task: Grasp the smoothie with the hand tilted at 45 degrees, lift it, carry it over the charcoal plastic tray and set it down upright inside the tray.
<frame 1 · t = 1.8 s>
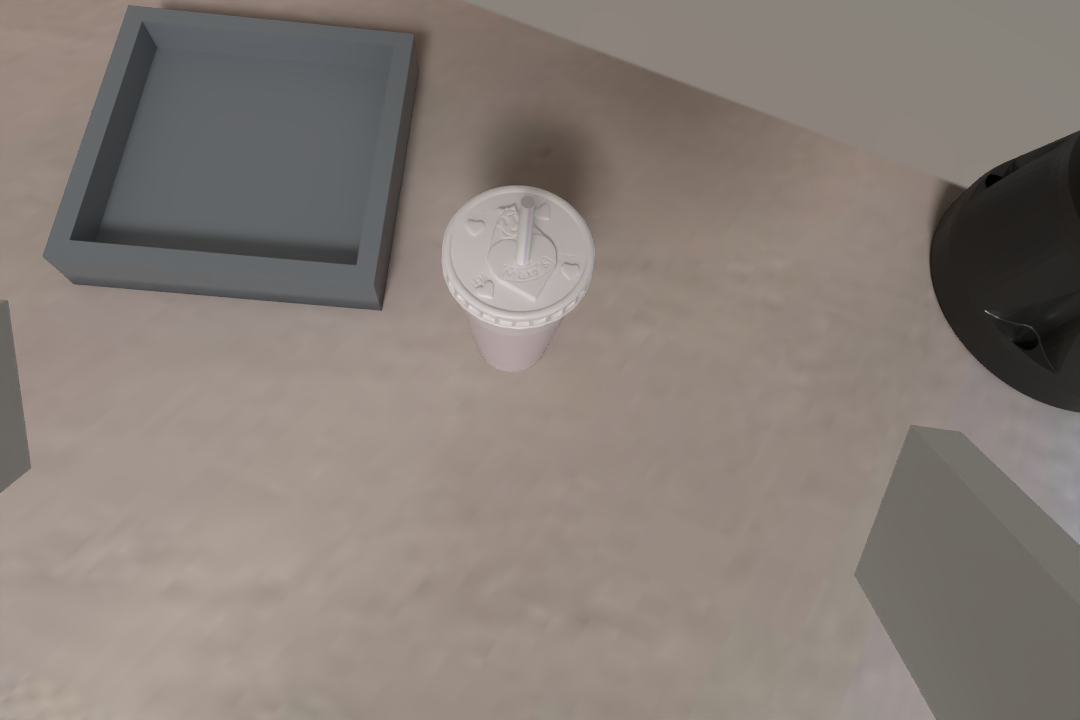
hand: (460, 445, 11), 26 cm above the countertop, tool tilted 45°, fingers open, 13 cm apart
tray: (259, 169, 43), on the countertop
smoothie: (511, 340, 40), on the countertop
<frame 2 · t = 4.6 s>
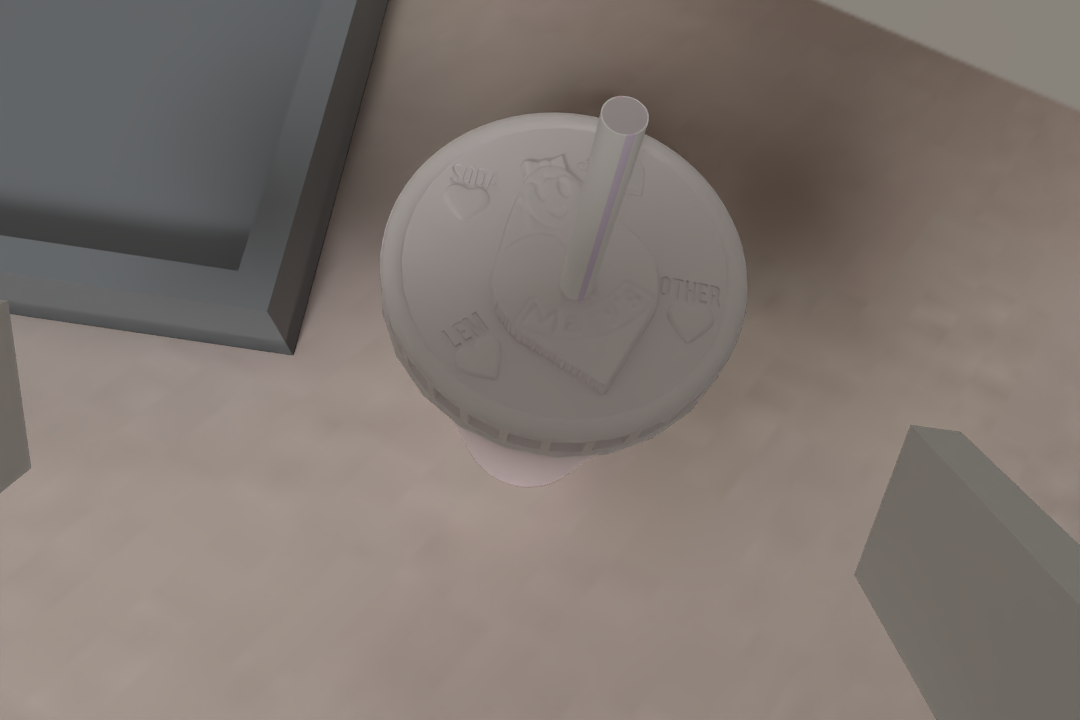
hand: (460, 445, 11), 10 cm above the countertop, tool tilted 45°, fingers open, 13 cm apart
tray: (107, 93, 25), on the countertop
smoothie: (527, 425, 22), on the countertop
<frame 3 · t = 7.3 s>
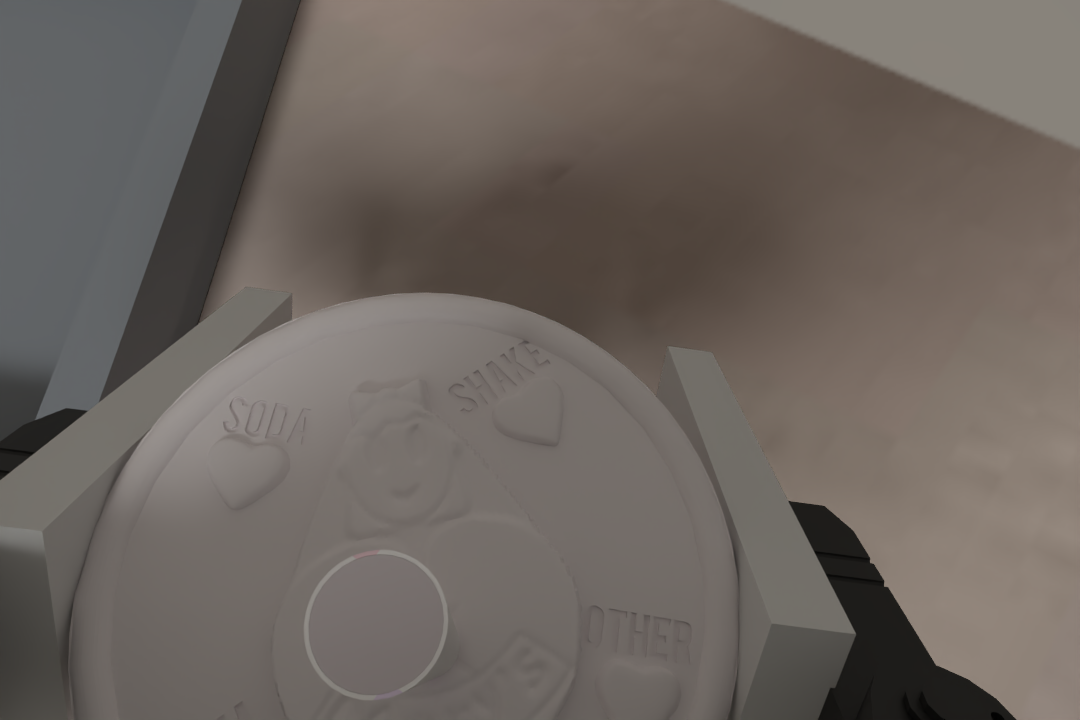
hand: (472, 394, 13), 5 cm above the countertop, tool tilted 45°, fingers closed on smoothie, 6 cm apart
smoothie: (446, 628, 16), on the countertop, touching gripper
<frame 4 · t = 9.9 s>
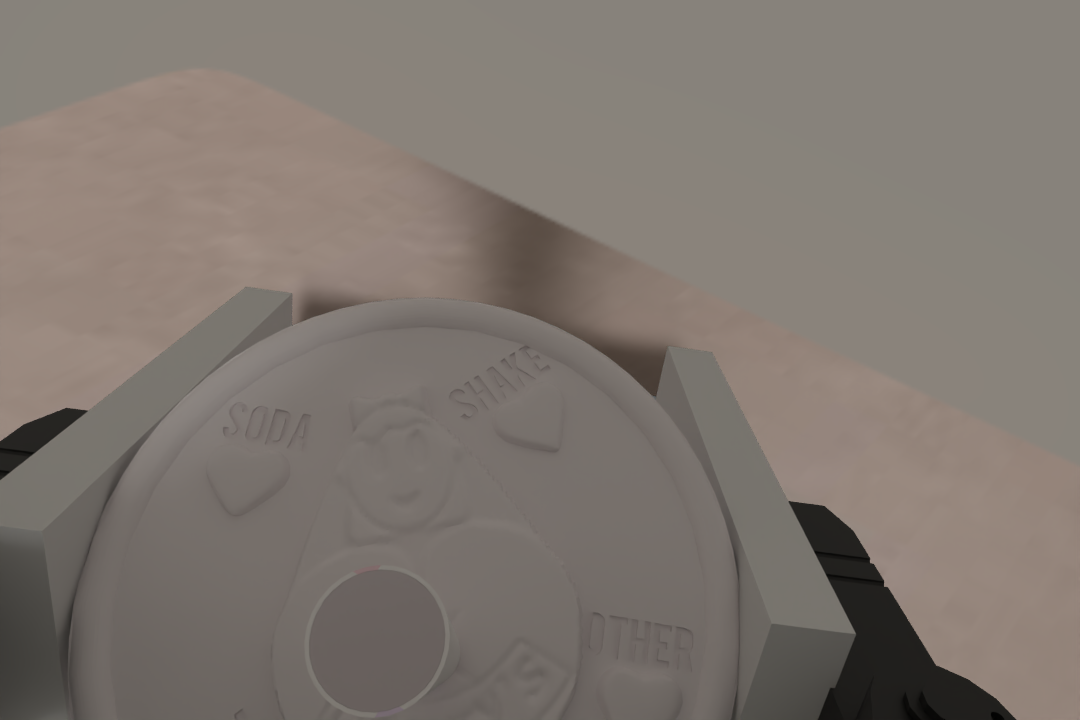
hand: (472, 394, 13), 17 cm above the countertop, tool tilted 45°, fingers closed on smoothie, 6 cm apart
smoothie: (446, 631, 16), point 12 cm above the countertop, touching gripper
when the fingers open (7 cm above the countertop, at t = 13.0 s): smoothie drops 1 cm, resting on tray.
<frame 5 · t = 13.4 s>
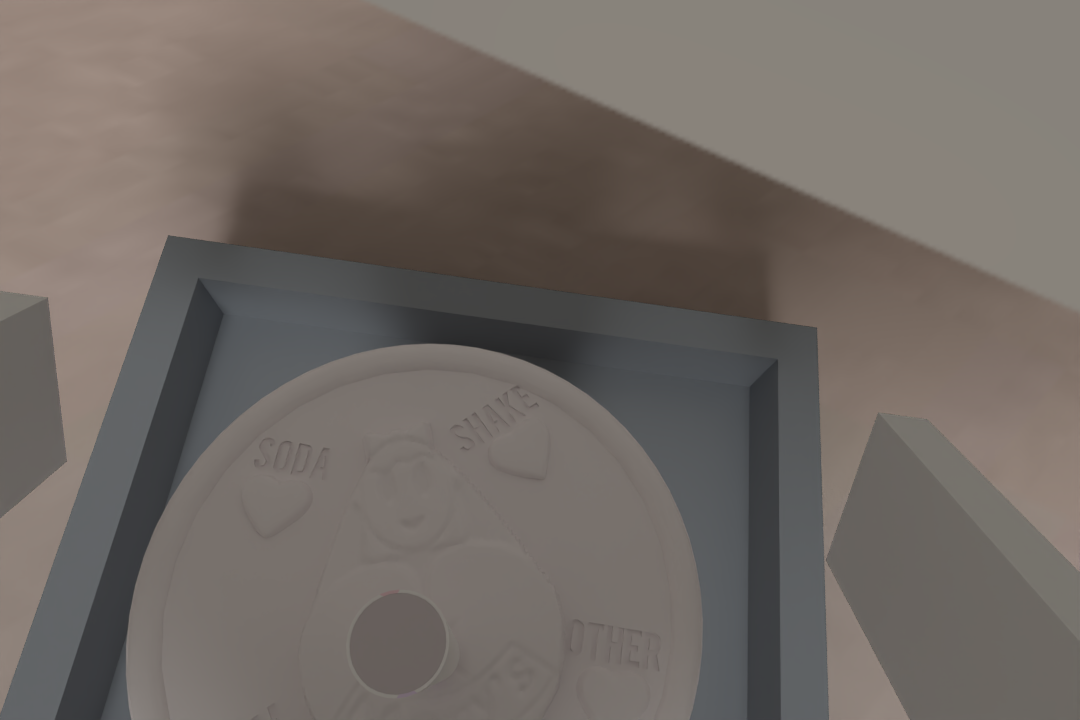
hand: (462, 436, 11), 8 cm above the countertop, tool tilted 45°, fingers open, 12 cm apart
tray: (449, 631, 18), on the countertop
smoothie: (448, 636, 17), point 1 cm above the countertop, touching tray
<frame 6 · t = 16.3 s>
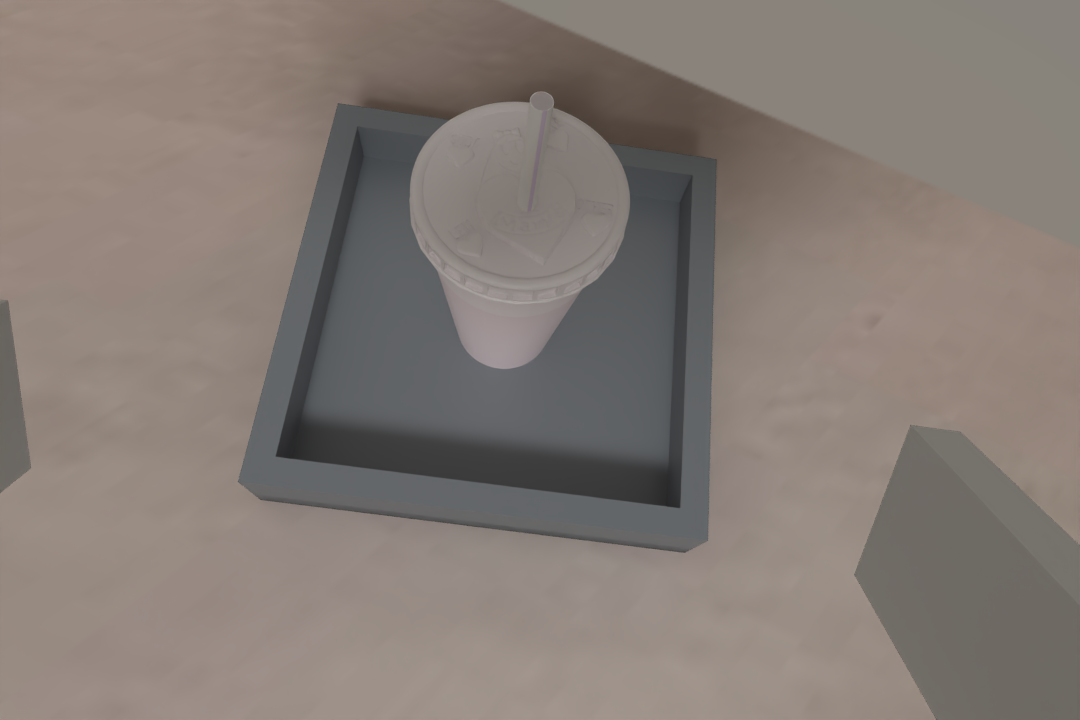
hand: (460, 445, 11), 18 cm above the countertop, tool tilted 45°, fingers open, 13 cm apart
tray: (502, 333, 31), on the countertop
smoothie: (503, 327, 31), point 1 cm above the countertop, touching tray
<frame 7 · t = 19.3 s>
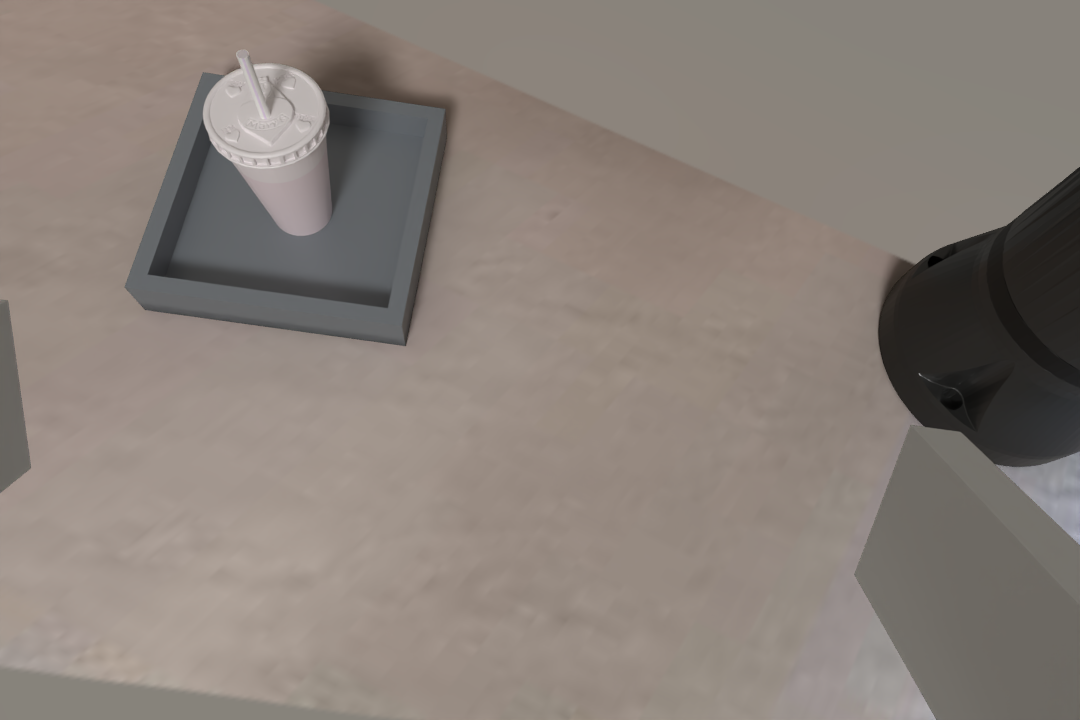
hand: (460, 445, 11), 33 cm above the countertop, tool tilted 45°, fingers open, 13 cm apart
tray: (306, 218, 49), on the countertop
smoothie: (303, 212, 49), point 1 cm above the countertop, touching tray
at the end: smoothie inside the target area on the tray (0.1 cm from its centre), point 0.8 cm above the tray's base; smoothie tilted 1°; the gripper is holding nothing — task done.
